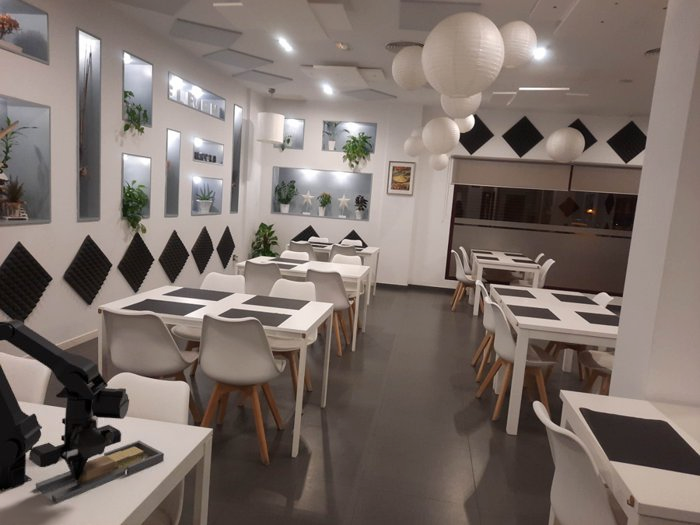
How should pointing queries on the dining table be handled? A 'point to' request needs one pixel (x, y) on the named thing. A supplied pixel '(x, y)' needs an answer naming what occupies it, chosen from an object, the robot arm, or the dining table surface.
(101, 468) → the tan wooden brick
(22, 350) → the robot arm
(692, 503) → the dining table surface
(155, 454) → the tray
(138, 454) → the tan wooden block
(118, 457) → the olive wooden block
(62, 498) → the rail bed
